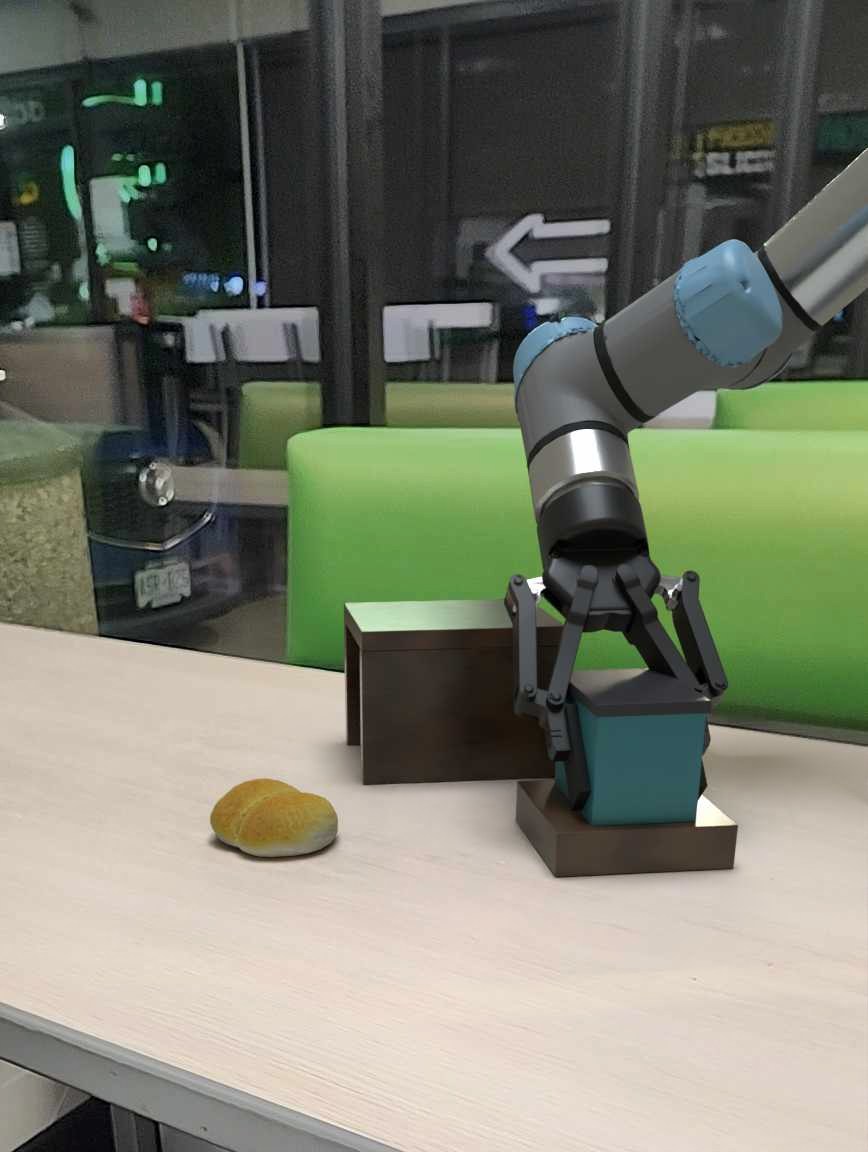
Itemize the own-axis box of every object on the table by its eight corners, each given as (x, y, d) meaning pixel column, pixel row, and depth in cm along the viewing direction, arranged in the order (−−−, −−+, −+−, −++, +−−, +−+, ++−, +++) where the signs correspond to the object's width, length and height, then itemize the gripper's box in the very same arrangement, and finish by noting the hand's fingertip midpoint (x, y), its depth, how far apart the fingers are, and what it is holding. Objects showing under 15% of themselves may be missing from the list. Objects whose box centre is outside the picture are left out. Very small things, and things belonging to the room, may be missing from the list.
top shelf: (521, 734, 120) (527, 598, 115) (559, 776, 107) (567, 625, 102) (345, 740, 118) (343, 602, 113) (363, 784, 105) (361, 631, 100)
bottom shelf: (674, 813, 98) (678, 774, 97) (733, 868, 87) (738, 824, 86) (515, 820, 97) (516, 780, 95) (555, 877, 86) (557, 833, 85)
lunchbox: (651, 778, 96) (659, 667, 93) (700, 822, 86) (711, 700, 83) (550, 782, 95) (556, 670, 92) (589, 827, 86) (597, 704, 82)
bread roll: (273, 869, 87) (271, 811, 86) (193, 838, 93) (189, 783, 92) (365, 840, 93) (365, 785, 91) (284, 813, 99) (282, 760, 97)
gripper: (705, 546, 100) (764, 818, 91) (444, 551, 98) (480, 831, 89) (738, 476, 93) (806, 764, 85) (458, 480, 91) (498, 776, 82)
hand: (638, 798), depth 87 cm, fingers closed on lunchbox, 7 cm apart
